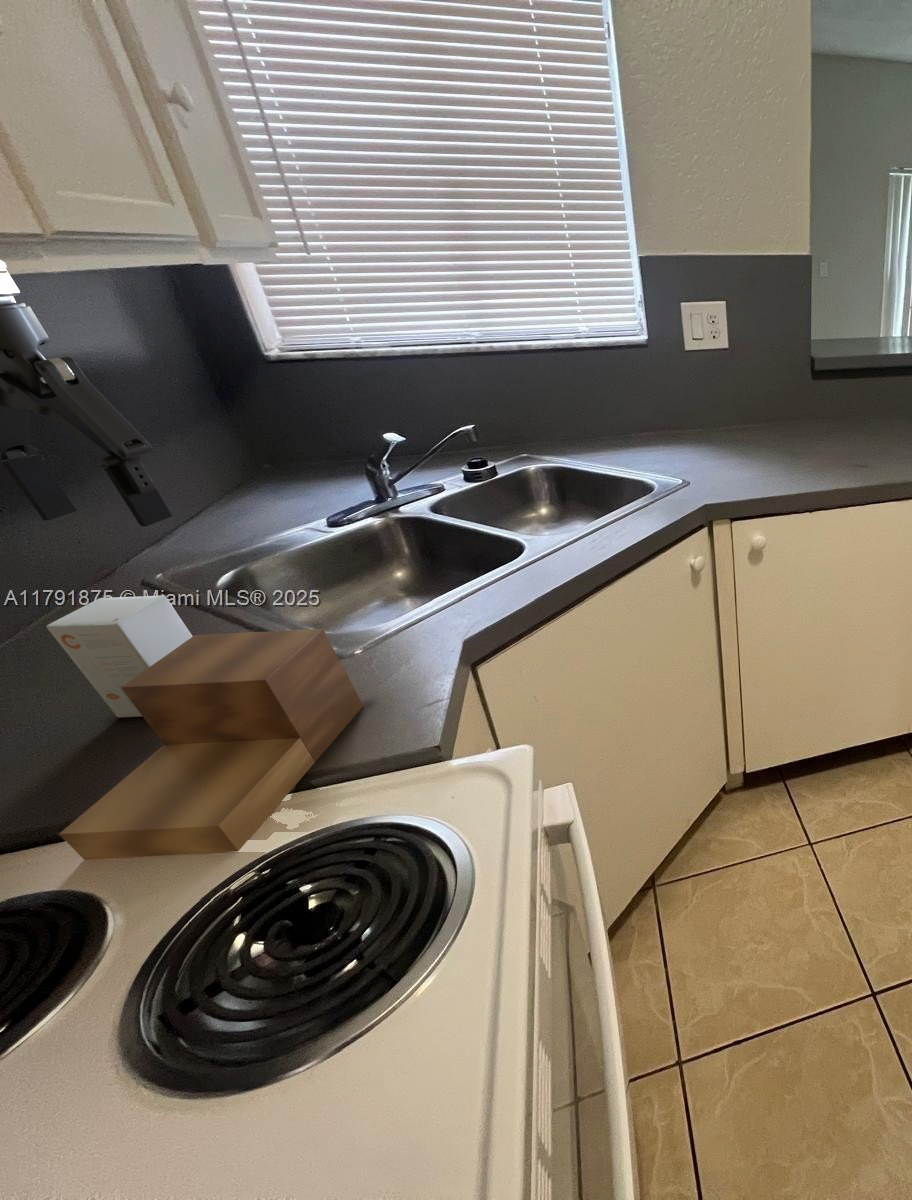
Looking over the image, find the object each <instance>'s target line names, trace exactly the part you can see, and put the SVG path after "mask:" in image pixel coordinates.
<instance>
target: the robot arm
mask: <svg viewBox="0 0 912 1200" xmlns="http://www.w3.org/2000/svg"><path fill="white" fill-rule="evenodd" d="M6 268H7V269H6ZM0 271H7V272H6V273H0V462H1V463H2V465H3V466H4V468H5V469H6V471H7V472H8V473H9V474H10V476H11V477H12V479H13V480H14V482H15V483H16V484H17V485H18V487H19V488H20V490H21V491H22V492H23V494H24V496H26V499H27V500H28V501H29V503H30V504H31V505H32V506H33V508H34V509H35V511H36V512H37V514H38V515H39V517H41V519H42V521H52V520H54V519H57V518H60V517H61V518H62V517H63V516H66V515H70V514H72V513H75V512H77V511H78V509H77V507H75V505H74V504H73V501H72V500H71V499H70V497H69V496H68V495H67V493H66V492H65V490H64V489H63V487H62V485H60V483H59V481H58V480H57V478H56V477H55V475H54V473H52V471H51V470H50V468H49V467H48V465H47V464H46V462H45V461H44V460H43V457H42V456H41V455H40V454H38V453H37V452H38V451H39V449H38V448H36V447H34V446H33V445H31V444H30V436H29V435H30V434H29V433H30V432H29V431H30V429H29V410H33V411H34V412H35V413H37V414H39V415H44V416H48V417H49V418H51V419H52V420H54V421H55V422H56V423H57V424H59V425H60V426H61V427H62V428H64V429H65V430H66V431H67V432H69V434H71V435H73V436H74V438H76V439H78V440H79V441H80V442H81V443H82V444H84V445H85V446H87V447H88V448H89V449H90V450H91V451H93V452H94V453H95V454H96V455H98V457H100V458H101V459H102V460H101V463H100V467H101V468H103V469H104V472H105V473H106V475H107V476H108V477H109V479H110V481H111V483H112V484H113V485H114V487H115V488H116V490H117V491H118V493H119V495H120V497H121V498H122V500H123V501H124V503H125V504H126V506H127V507H128V509H129V510H130V512H131V514H132V515H133V517H134V519H135V520H136V522H137V523H138V525H139V527H148V526H151V525H153V524H156V523H159V522H161V521H164V520H167V519H170V518H172V517H173V513H171V511H170V509H169V507H168V506H167V504H166V502H165V501H164V499H163V497H162V495H161V494H160V493H159V491H158V489H157V488H156V485H155V483H154V481H153V480H152V478H151V476H150V475H149V473H148V472H147V469H146V468H145V466H144V465H143V462H142V460H141V458H143V456H144V455H146V454H149V453H152V452H153V447H152V445H151V444H150V443H149V442H148V441H147V440H146V438H144V436H142V434H140V432H139V431H138V430H137V429H136V428H135V427H134V425H132V424H131V423H130V422H129V421H128V419H126V418H125V416H123V415H122V413H121V412H120V411H118V409H117V408H116V407H114V406H113V405H112V404H111V402H110V401H109V400H108V399H107V398H106V397H105V396H104V395H103V394H102V393H101V392H100V391H99V390H98V389H97V388H96V387H95V386H94V384H92V383H91V382H90V381H89V379H88V378H87V376H86V375H85V374H84V372H83V371H82V370H81V368H80V366H79V365H78V363H77V362H76V361H75V360H74V358H72V357H71V356H62V357H55V358H49V359H46V358H45V356H44V355H43V354H42V353H41V352H40V351H39V349H38V348H39V346H44V345H46V344H48V343H49V341H50V337H49V336H48V334H47V332H46V330H45V328H44V327H43V326H42V324H41V322H40V321H39V319H38V317H37V316H36V314H35V313H34V311H33V309H32V307H31V305H27V304H26V303H25V302H24V301H23V302H22V301H21V302H19V301H18V302H17V301H16V299H15V297H16V296H19V295H20V293H21V291H20V289H19V288H18V286H17V285H16V283H15V281H14V279H13V278H12V276H11V275H10V273H9V272H8V266H7V264H6V262H5V261H3V260H2V259H0Z"/></svg>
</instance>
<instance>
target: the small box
mask: <svg viewBox="0 0 912 1200" xmlns="http://www.w3.org/2000/svg"><path fill="white" fill-rule="evenodd" d="M46 628H47V630H48V632H49V633H50V634H51V635H52V636H53V638H54V639H55V640H56V642H58V644H59V645H60V647H61V648H62V649H63V651H65V653H66V654H67V656H69V658H70V659H71V661H72V662H73V663H74V665H75V666H76V667H77V668H78V669H79V671H80V672H81V673H82V674H83V676H84V677H85V679H86V680H87V681H88V682H89V684H91V686H92V688H94V690H95V691H96V693H98V694H99V696H100V697H101V698H102V700H103V701H104V702H105V703H106V705H107V706H108V707H109V708H110V710H111V711H112V713H113V714H114V715H115V716H116V717H117V718H139V717H141V718H144V717H143V716H142V715H141V713H140V712H139V711H138V710H137V708H136V707H135V706H134V704H133V703H132V702H131V700H130V699H129V698H128V697H127V695H126V694H125V693H124V691H123V690H122V689H121V687H122V686H123V685H125V684H126V683H128V682H129V681H130V680H132V679H133V678H135V677H136V676H138V675H139V674H140V673H142V672H143V671H145V670H146V669H147V668H149V667H150V666H152V665H153V664H155V663H156V662H157V661H159V660H160V659H162V658H163V657H164V656H166V655H167V654H169V653H170V652H172V651H173V650H174V649H176V648H177V647H179V646H180V645H182V644H183V643H184V642H186V641H187V640H189V639H190V638H191V637H193V636H194V635H192V633H191V631H190V630H189V629H188V627H187V626H186V624H185V623H184V621H183V620H182V618H181V617H180V616H179V614H178V613H177V610H176V609H175V608H174V606H173V605H172V604H171V602H170V600H169V599H168V597H167V596H166V595H145V596H140V595H139V596H119V597H116V596H115V597H98V598H97V599H95V600H94V601H91V602H89V603H88V604H86V605H85V604H84V605H83V606H81V607H79V608H77V609H76V610H74V611H72V612H70V613H68V614H66V615H64V616H63V617H60V618H58V619H56V620H54V621H52V622H50V623H49V624H47V625H46Z"/></svg>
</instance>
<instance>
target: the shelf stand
mask: <svg viewBox="0 0 912 1200" xmlns="http://www.w3.org/2000/svg"><path fill="white" fill-rule="evenodd" d="M192 636H193V637H191V638H190V639H189V640H187V641H186V642H184V643H183V644H182V645H180V646H179V647H177V648H176V649H174V650H173V651H172V652H170V653H169V654H167V655H166V656H164V657H163V658H162V659H160V660H159V661H157V662H156V663H155V664H153V665H152V666H150V667H149V668H147V669H146V670H145V671H143V672H142V673H140V674H139V675H138V676H136V677H135V678H133V679H132V680H130V681H129V682H128V683H126V684H125V685H123V686H122V687H121V689H122V690H123V691H124V693H125V694H126V695H127V697H128V698H129V699H130V700H131V702H132V703H133V704H134V706H135V707H136V708H137V710H138V711H139V712H140V713H141V715H142V716H143V717H142V718H143V719H144V720H145V721H146V723H147V725H149V726H150V728H151V729H152V730H153V732H154V733H155V734H156V736H157V737H158V738H159V740H160V741H161V742H162V744H163V745H162V746H161V747H160V748H158V750H156V751H155V752H154V753H153V754H152V755H150V756H149V757H148V758H147V759H146V760H144V761H143V762H142V763H141V764H140V765H138V766H137V767H136V768H135V769H133V770H132V772H130V773H129V774H128V775H127V776H125V777H124V778H123V779H122V780H120V781H119V782H118V783H117V784H116V785H115V786H114V787H113V788H111V789H110V790H109V791H108V792H107V793H105V794H104V795H103V796H102V797H100V799H99V800H96V802H95V803H94V804H92V806H90V807H89V808H88V809H86V810H85V811H84V812H83V813H82V814H81V815H80V816H78V817H77V818H76V819H74V821H73V822H71V823H70V824H69V825H67V826H66V827H65V828H64V829H63V830H62V831H60V832H59V833H58V835H59V836H60V837H61V838H62V839H63V840H64V841H65V842H66V843H67V844H68V845H69V846H70V848H72V849H73V850H74V851H75V852H76V853H77V855H78V856H79V857H81V858H82V859H83V860H98V859H99V860H100V859H121V858H139V857H141V858H143V857H158V856H159V857H161V856H179V855H198V854H199V855H200V854H217V853H219V854H220V853H238V852H239V851H240V850H241V849H242V848H243V847H244V845H246V843H247V842H248V841H249V840H250V839H251V837H252V836H253V835H254V834H255V833H256V831H257V830H258V829H260V827H261V826H262V825H263V823H264V822H265V821H266V820H267V819H268V818H269V817H270V815H271V814H272V813H273V812H274V811H275V810H276V809H277V807H278V806H279V805H280V804H281V803H282V801H283V800H284V799H285V798H287V796H288V795H289V793H290V792H291V791H292V790H293V789H294V787H296V785H297V784H298V783H299V782H300V781H301V779H302V778H303V777H304V776H305V774H306V773H308V771H309V770H310V769H311V768H312V766H313V765H314V764H315V763H316V762H317V760H319V758H320V757H321V756H322V755H323V754H324V753H325V751H326V750H328V748H329V747H330V745H332V743H333V742H334V741H335V740H336V739H337V737H338V736H339V735H340V734H341V733H342V732H343V731H344V729H346V727H348V725H349V724H350V722H351V721H352V720H353V719H354V718H355V716H356V715H357V714H358V713H359V712H360V711H361V710H362V708H363V707H364V704H363V703H362V700H361V698H360V696H359V694H358V693H357V691H356V688H355V687H354V685H353V683H352V681H351V679H350V677H349V675H348V674H347V671H346V670H345V668H344V666H343V664H342V662H341V660H340V658H339V657H338V654H337V652H336V651H335V648H334V646H333V645H332V643H331V641H330V639H329V637H328V635H327V633H326V631H325V630H324V628H310V629H309V628H307V629H290V630H289V629H287V630H271V631H270V630H269V631H249V632H231V633H212V634H211V633H209V634H194V635H192Z"/></svg>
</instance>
